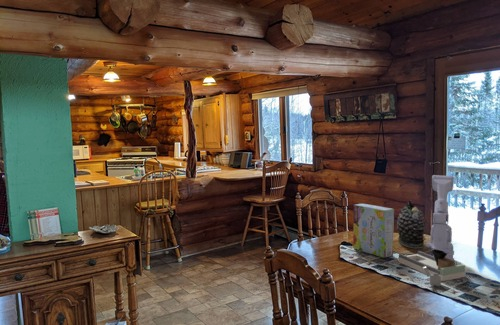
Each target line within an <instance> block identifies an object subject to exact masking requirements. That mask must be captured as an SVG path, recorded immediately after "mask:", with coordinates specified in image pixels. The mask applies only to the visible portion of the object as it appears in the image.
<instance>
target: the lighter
mask: <svg viewBox="0 0 500 325" xmlns="http://www.w3.org/2000/svg"><path fill="white" fill-rule="evenodd" d="M423 268H424V270H425V272H426V274H425V275H426V276H427V277H429V285H430V286H434V285H436V287H441V282H442V281H441V276H440V275H439V274H438V273H433V274H430V273H429V271H428V269H427V267H426V266H425V267H423Z"/></svg>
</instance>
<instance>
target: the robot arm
mask: <svg viewBox="0 0 500 325" xmlns="http://www.w3.org/2000/svg"><path fill="white" fill-rule="evenodd" d="M431 177H432V178H431V186H432V190H433V191H434V192H436V194H437V199H436V200H435V201H434V212H433V213H432V225H431V227H430V228H431V230H430V241H432V242H426V243H425V244H426V247H427V248H431V249H432V250H431V253H432V256H434V257H435V261H436V265H437V266H438V259H442V258H448V259H451V260H454V261H455V258H454V255H455V250H454V245H453V243H452V241H453V240H452V237H453V235H452V234H453V231H452V226H450V225H449V202H448V195H449V193H450V192H452V191H453V190H454V181H455V180H454V178H455V176H454V175H439V174H436V175H435V174H433V175H432V176H431Z"/></svg>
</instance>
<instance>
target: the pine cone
mask: <svg viewBox="0 0 500 325" xmlns="http://www.w3.org/2000/svg"><path fill="white" fill-rule="evenodd" d="M399 212H400V213H398V217H396V218H397V221H396V231H397V234H398V237H397V238H398V242H399V243H400V245H402V246H405V247H407V248H411V249H421V248H423V247H424V245H425V241H426V237H425V236H424V234H425V229H426V228H425V225H426V224H425V216H424V214H423V212H422V210H420V209H418V207H417V206H415V205H414V204H413V203H412V202H411V201H410V200H408V201H407V204H405V206H403V208H401V209H400V211H399Z"/></svg>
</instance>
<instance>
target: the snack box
mask: <svg viewBox="0 0 500 325" xmlns="http://www.w3.org/2000/svg"><path fill="white" fill-rule="evenodd" d="M394 220H395V208H390V207H385V206H379V205H374V204H367V203H358V204H357V203H356V204H353V234H352V236H353V237H352V239H353V242H352V243H353V245H352V246H353V247H352V249H353V248H354V250H356V249H357V250H356V251H360V252H363V253H366V254H370V255H374V256H377V257H381V258H384V259H385V258H388V257H391V256H394V232H395V231H394V226H395V225H394V224H395V223H394Z"/></svg>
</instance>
